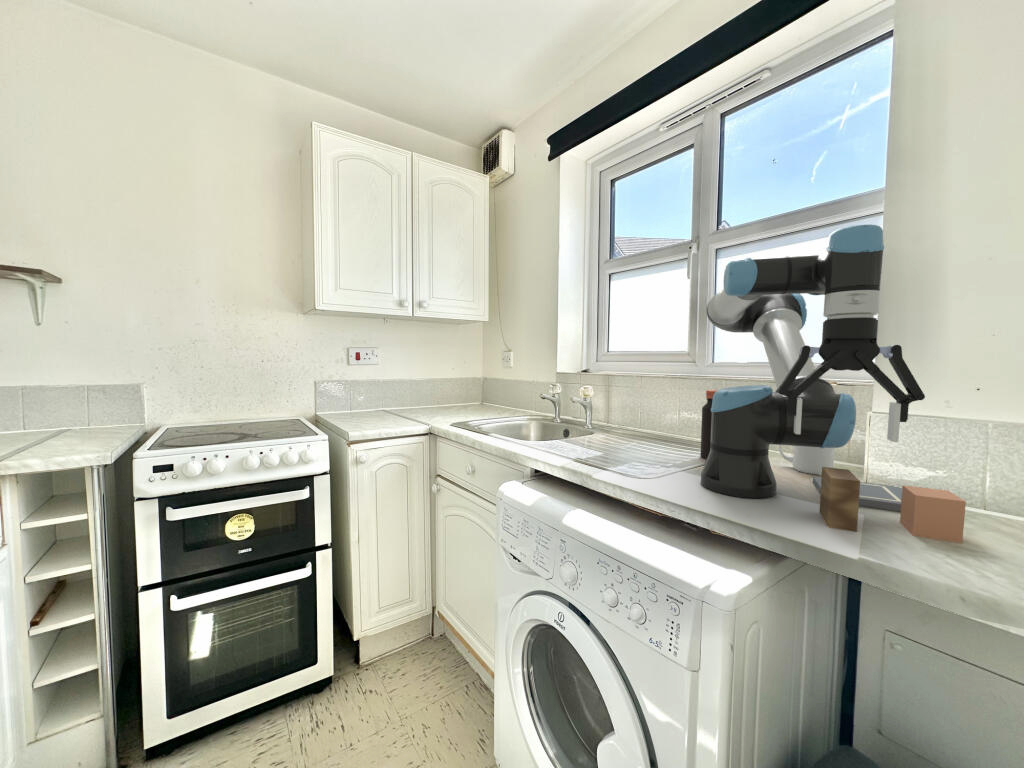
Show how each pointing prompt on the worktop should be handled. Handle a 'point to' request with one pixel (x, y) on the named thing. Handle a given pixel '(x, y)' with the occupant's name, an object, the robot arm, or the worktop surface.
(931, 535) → the cap cube
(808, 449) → the mug
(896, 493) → the baseboard
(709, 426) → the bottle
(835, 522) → the tall cardboard box
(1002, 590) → the worktop surface
